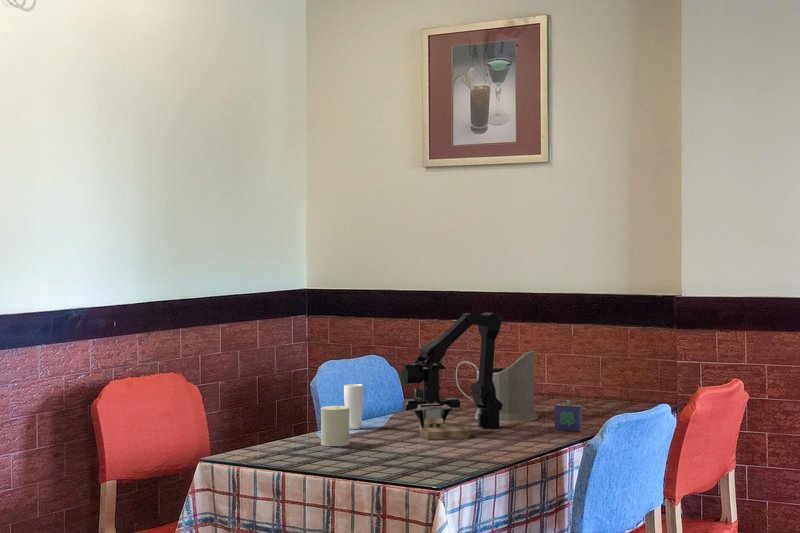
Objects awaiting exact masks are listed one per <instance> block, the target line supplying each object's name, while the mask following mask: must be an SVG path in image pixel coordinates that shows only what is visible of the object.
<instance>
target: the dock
mask: <svg viewBox="0 0 800 533" xmlns="http://www.w3.org/2000/svg"><path fill="white" fill-rule="evenodd" d="M470 433H471V432H470V429H468V428H466V427H464V426H462V425H461V426H460V425H459V426H458V425H457V426H443V427H433V428H421V431H420V436H421V437H423V438H424V439H425V440H427V441H434V440H435V441H436V440H456V439H457V440H458V439H459V440H460V439H462V440H463V439H470V438H471V437H470V435H471V434H470Z"/></svg>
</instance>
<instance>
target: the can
mask: <svg viewBox="0 0 800 533" xmlns="http://www.w3.org/2000/svg"><path fill="white" fill-rule="evenodd" d="M320 423H321V424H320V425H321V430H320V434H321V435H320V438H321V440H320V445H321V446H323V447H330V446H338V447H346V446H349V445H351V442H350V429H349V407H347V406H345V405H326V406H321V408H320Z"/></svg>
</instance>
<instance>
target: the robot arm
mask: <svg viewBox="0 0 800 533" xmlns="http://www.w3.org/2000/svg"><path fill="white" fill-rule="evenodd" d="M472 326H477V328H478V332H479V335H480V337H481V340H480V341H481V342H480V356H479V367H478V369H479V379H478V381H477V380H476V383H472V384H471V393H470V396H472V397H471V398H473V400H472V401H473V402H474V403H475V404H476V407H477V408H480V409H479V414H478V419H477V426H478V427H479V428H482V429H501V428H502V426H501V425H500V422H499V411H501V409H502V406H503V404H502V403H501V402H500V401H499V400H498V399H497V398H496V390H495V386H494V383H493V380H492V379H493V368H494V362H495V349H496V347H495V346H496V339H497V337H498V335H499V333H500V331H501V326H502V318H501V317H500V315H499V314H497V313H495V312H494V313H493V312H483V313H481V314H474V313H470V312H469V313H468V312H464V313H463V314H461V316H460V317H459V318H458V319H457V320H456V321H455V322H454V323H453V324H451V326H450V327H449V328H448V329H447V330H446V331H444V333H443V334H441V335H440V336H439V337H438V338H436V339H434V340H432V341H430V342H428V343H427V344H426V345H423V347H422V348H421V349H420V350H419V351H420V354H419V355H418V357H417V358H416V360H415V362H414V363H413V364H410V363H409V364H408V363H404V364H403V365H402V366H403V367H402V369H401V372H400V380H401V383H402V384H403V385H404V386H405V385H406V386H407V385H420V384H422V387H421V388H414V389H413V396H414V398H411V399H410V398H408V399H407V398H406V399H404V400H403V401H402V408H403V409H405V410H411V411H413V412H414V413H415V415H416V417H417V419H418V422H419V427H420V426H421V428H424V422H423V409H422V408H428V407H439V409H441V418H442V419H443V425H444V424H445V421H446V418H447V417H448V415H449V413H450V412H452V411H453V409H459V408H461V401H460V399H458V398H457V397H445V398H444V400H441V383H440V382H441V381H440V380H441V379H440V376H441V374H440V373H441V371H440V370H446V368H447V367H446V366H445V365H443V364H442V362H441V360H442V359H444V357H445V356H446V354H447V352H448V349H449V348H450V346H451V345H453V344H454V342H456V341H457V340H458V339H459V338H461V336H462V335H463V334H465V332H466V331H467V330H468V329H469V328H471V327H472ZM416 399H417V400H416ZM418 399H419V401H418ZM477 408H476V409H477Z"/></svg>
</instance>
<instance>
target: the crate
mask: <svg viewBox="0 0 800 533" xmlns="http://www.w3.org/2000/svg"><path fill="white" fill-rule="evenodd" d="M422 410H423V417H424V418H425V419H436V418H441V409H440V407H438V406H432V407H422Z"/></svg>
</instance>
